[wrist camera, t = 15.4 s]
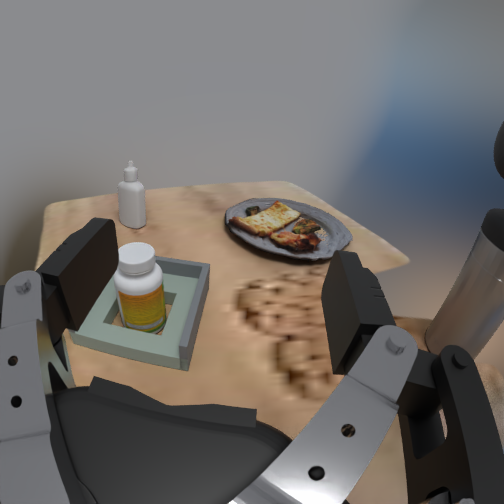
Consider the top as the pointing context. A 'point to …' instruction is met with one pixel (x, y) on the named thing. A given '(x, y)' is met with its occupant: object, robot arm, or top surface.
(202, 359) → the top surface
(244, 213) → the food plate
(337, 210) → the top surface
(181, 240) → the top surface
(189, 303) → the box
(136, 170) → the eye dropper bottle
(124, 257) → the supplement bottle
